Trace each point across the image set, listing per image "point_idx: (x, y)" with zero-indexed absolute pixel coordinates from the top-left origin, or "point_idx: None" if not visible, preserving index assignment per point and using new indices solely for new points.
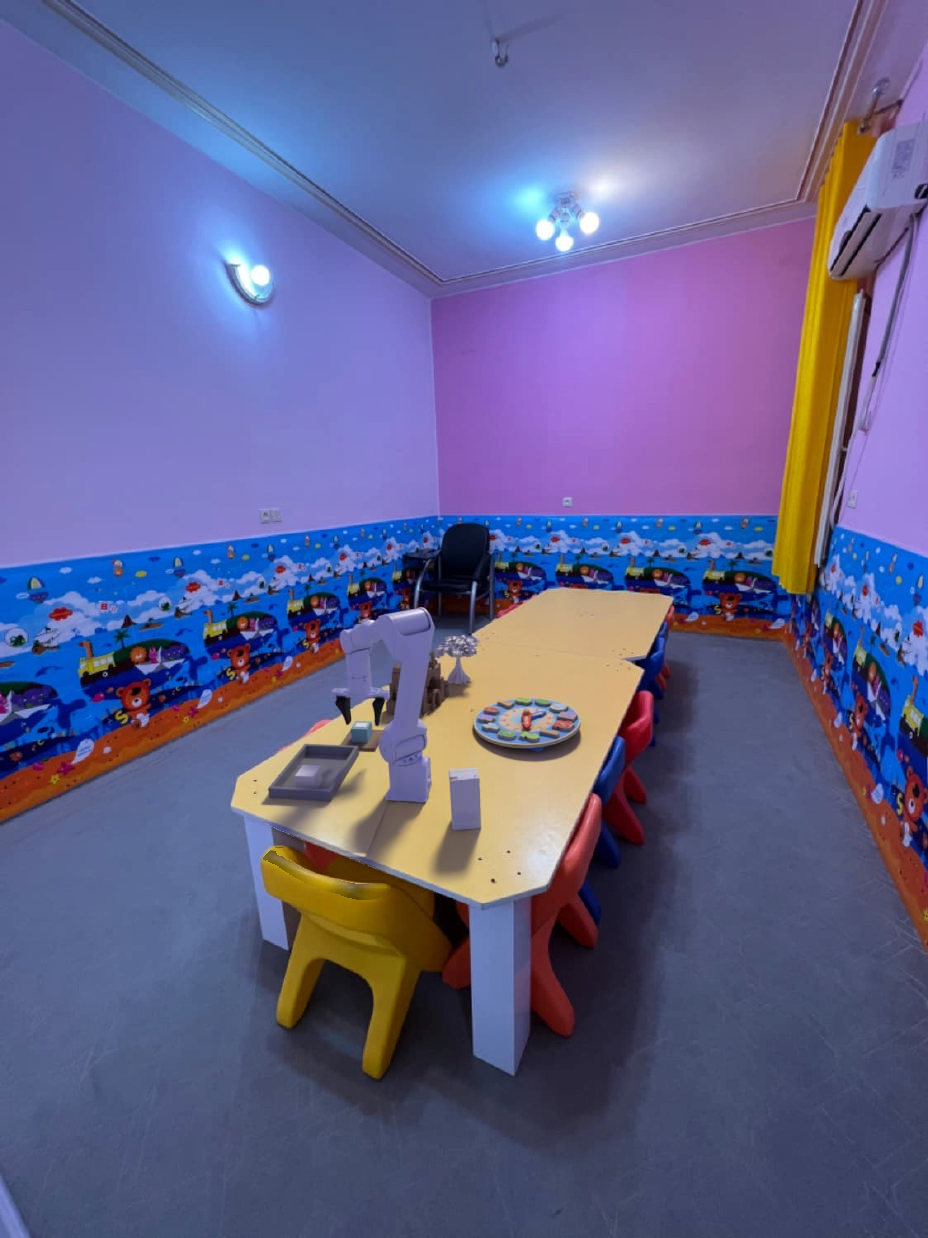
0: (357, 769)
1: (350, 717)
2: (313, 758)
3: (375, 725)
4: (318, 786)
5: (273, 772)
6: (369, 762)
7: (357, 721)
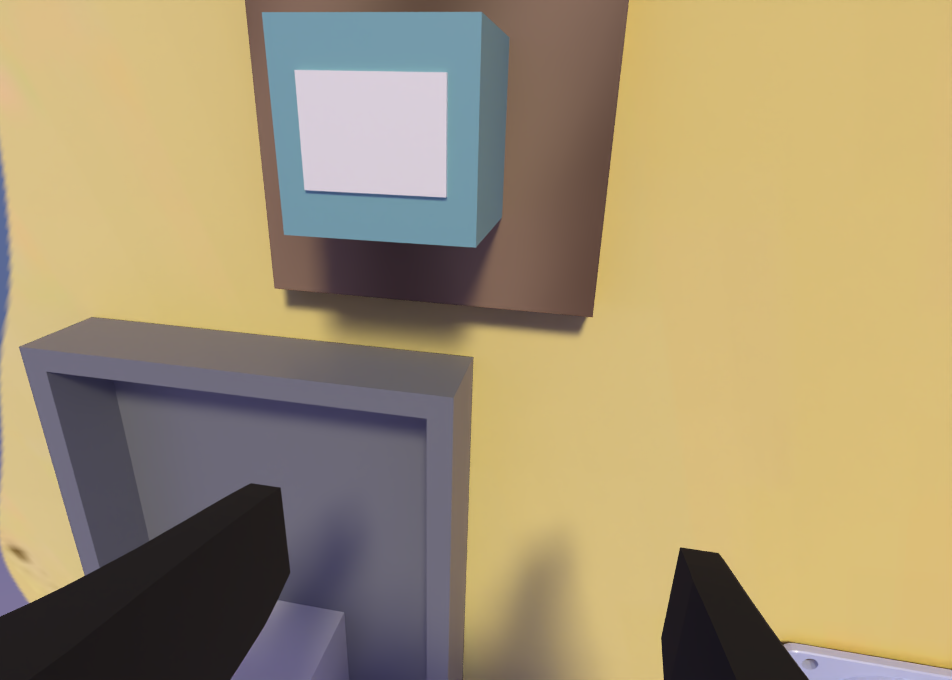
0: (507, 507)
1: (243, 546)
2: (174, 399)
3: (666, 647)
4: (346, 657)
5: (48, 497)
6: (572, 436)
7: (285, 23)
